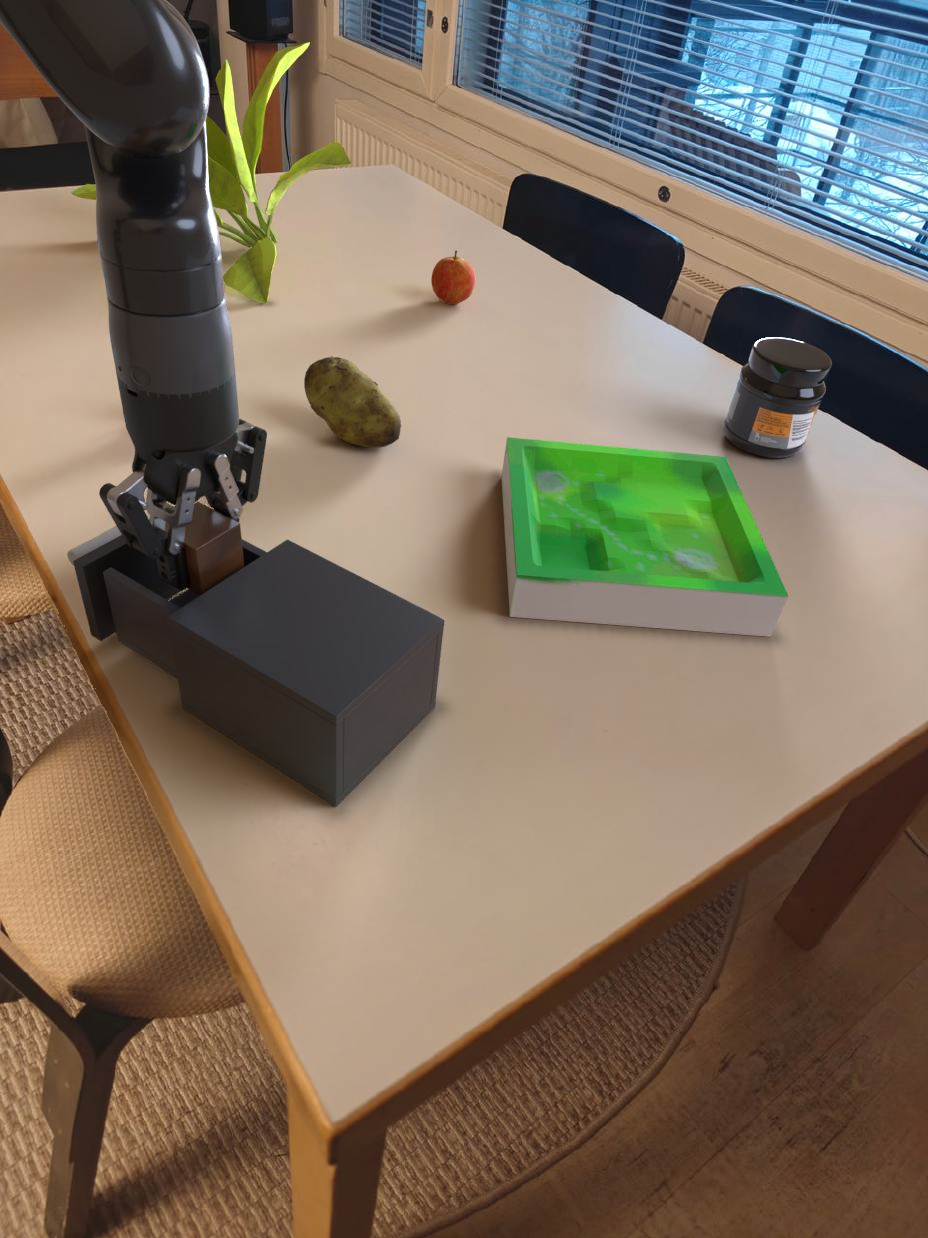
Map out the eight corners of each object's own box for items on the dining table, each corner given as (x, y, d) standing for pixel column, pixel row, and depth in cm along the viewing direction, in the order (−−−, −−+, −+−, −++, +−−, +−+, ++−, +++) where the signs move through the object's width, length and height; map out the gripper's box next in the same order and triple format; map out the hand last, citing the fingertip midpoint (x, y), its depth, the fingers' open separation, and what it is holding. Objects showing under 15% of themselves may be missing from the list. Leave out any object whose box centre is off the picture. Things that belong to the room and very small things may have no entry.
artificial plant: (153, 250, 160) (25, 103, 135) (347, 116, 154) (250, -63, 129) (196, 389, 137) (51, 244, 113) (425, 238, 132) (326, 50, 107)
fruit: (466, 313, 135) (472, 261, 130) (424, 305, 136) (428, 253, 131) (477, 299, 140) (483, 248, 135) (436, 291, 141) (440, 240, 136)
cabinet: (182, 708, 68) (167, 616, 62) (291, 627, 76) (287, 538, 70) (336, 807, 62) (336, 717, 56) (435, 707, 70) (445, 619, 64)
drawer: (56, 613, 73) (35, 538, 68) (161, 552, 81) (149, 481, 76) (217, 715, 66) (207, 641, 61) (315, 639, 74) (313, 567, 69)
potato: (345, 465, 98) (345, 400, 92) (295, 415, 105) (293, 352, 100) (407, 450, 101) (411, 387, 96) (355, 403, 109) (356, 342, 104)
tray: (713, 494, 101) (725, 456, 97) (770, 636, 82) (788, 596, 78) (501, 475, 99) (507, 437, 96) (509, 616, 80) (517, 574, 77)
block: (202, 597, 65) (195, 549, 63) (160, 573, 67) (152, 526, 64) (244, 569, 68) (240, 522, 66) (203, 547, 70) (198, 501, 67)
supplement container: (804, 468, 108) (841, 378, 100) (720, 451, 109) (750, 361, 101) (799, 430, 115) (832, 344, 108) (720, 414, 117) (748, 328, 109)
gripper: (214, 317, 63) (233, 512, 74) (43, 380, 53) (94, 593, 64) (293, 348, 60) (300, 546, 71) (127, 420, 50) (165, 636, 62)
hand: (202, 568), depth 68 cm, fingers closed on block, 4 cm apart
